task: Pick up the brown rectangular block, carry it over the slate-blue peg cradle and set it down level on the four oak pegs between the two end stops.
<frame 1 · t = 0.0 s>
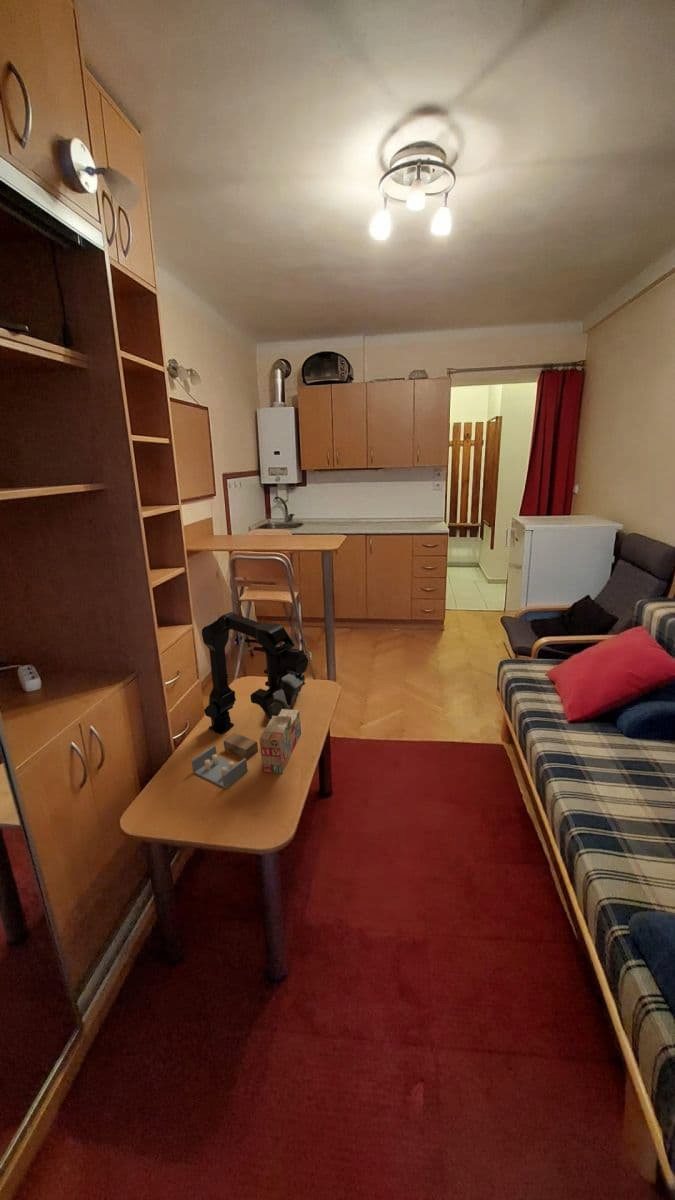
hand: (280, 711, 145), 15 cm above the table, fingers open, 9 cm apart
bluetooth speaker: (284, 705, 177), on the table
brown rectangular block: (241, 751, 151), on the table
stack of blocks: (283, 752, 149), on the table
cradle: (220, 772, 141), on the table
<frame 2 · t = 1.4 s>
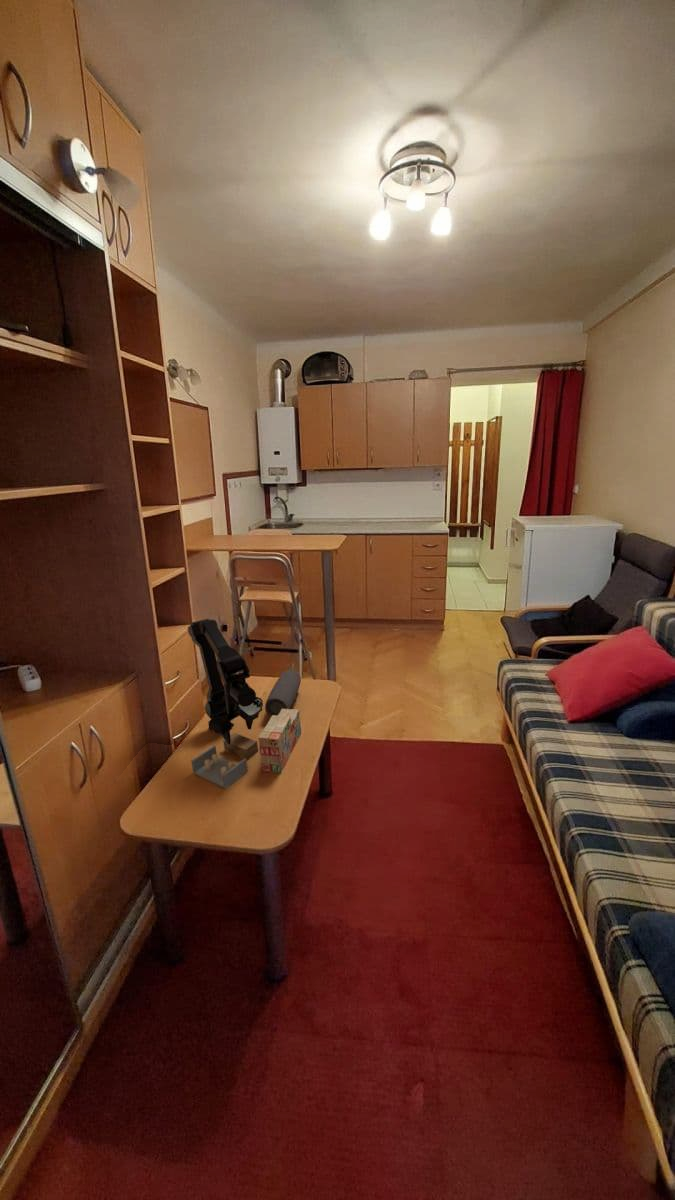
hand: (239, 736, 149), 5 cm above the table, fingers open, 9 cm apart
nothing on the table moved.
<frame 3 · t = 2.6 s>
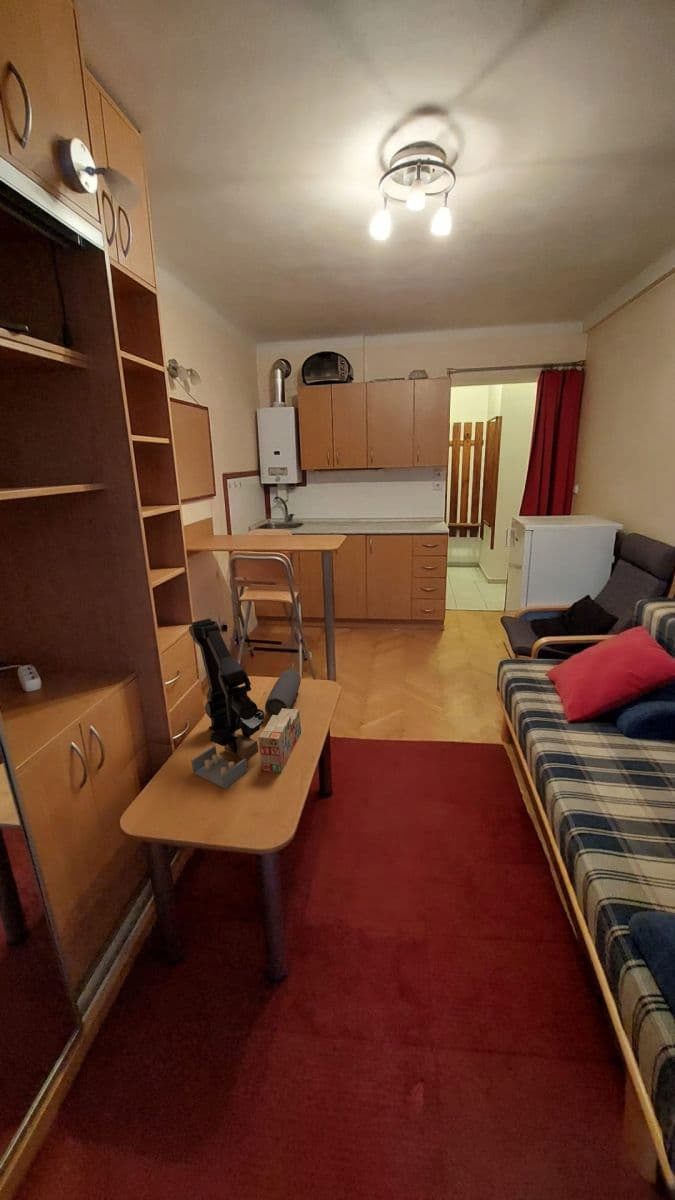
hand: (241, 748, 150), 1 cm above the table, fingers closed on brown rectangular block, 5 cm apart
brown rectangular block: (241, 751, 151), on the table, touching gripper
everything else where it was.
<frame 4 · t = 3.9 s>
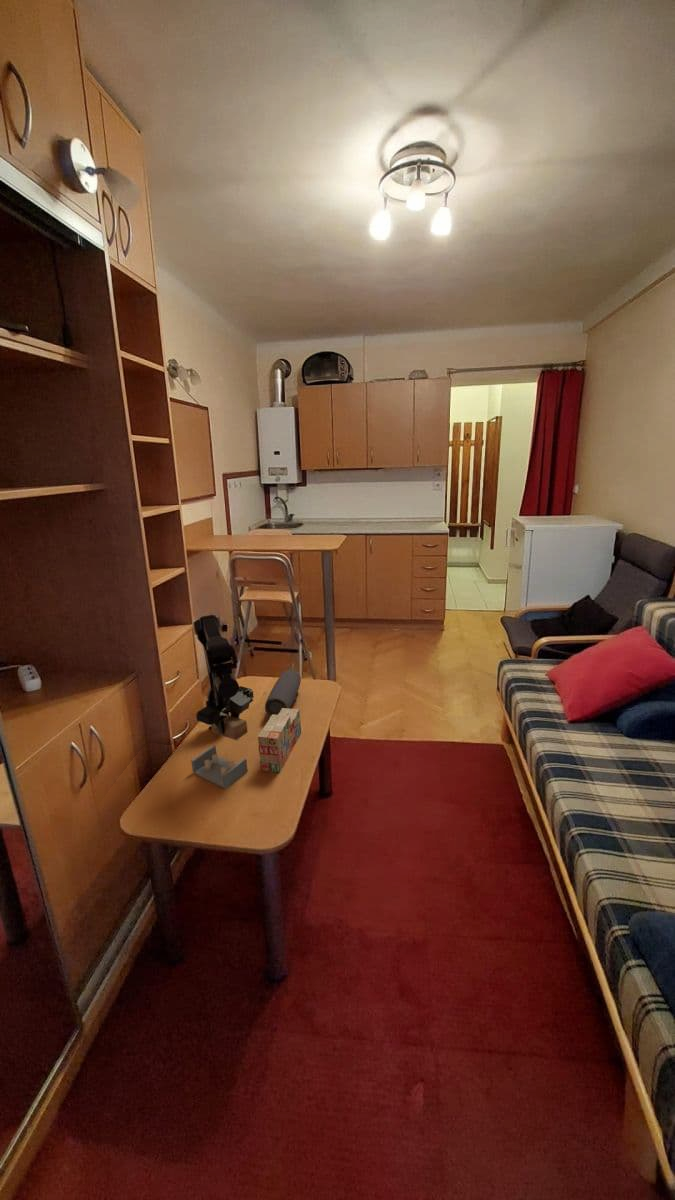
hand: (229, 729, 143), 11 cm above the table, fingers closed on brown rectangular block, 5 cm apart
brown rectangular block: (229, 731, 143), point 10 cm above the table, touching gripper
everything else where it was.
when the fingers open (6 cm above the table, at t = 5.6 s): brown rectangular block stays where it is, resting on cradle.
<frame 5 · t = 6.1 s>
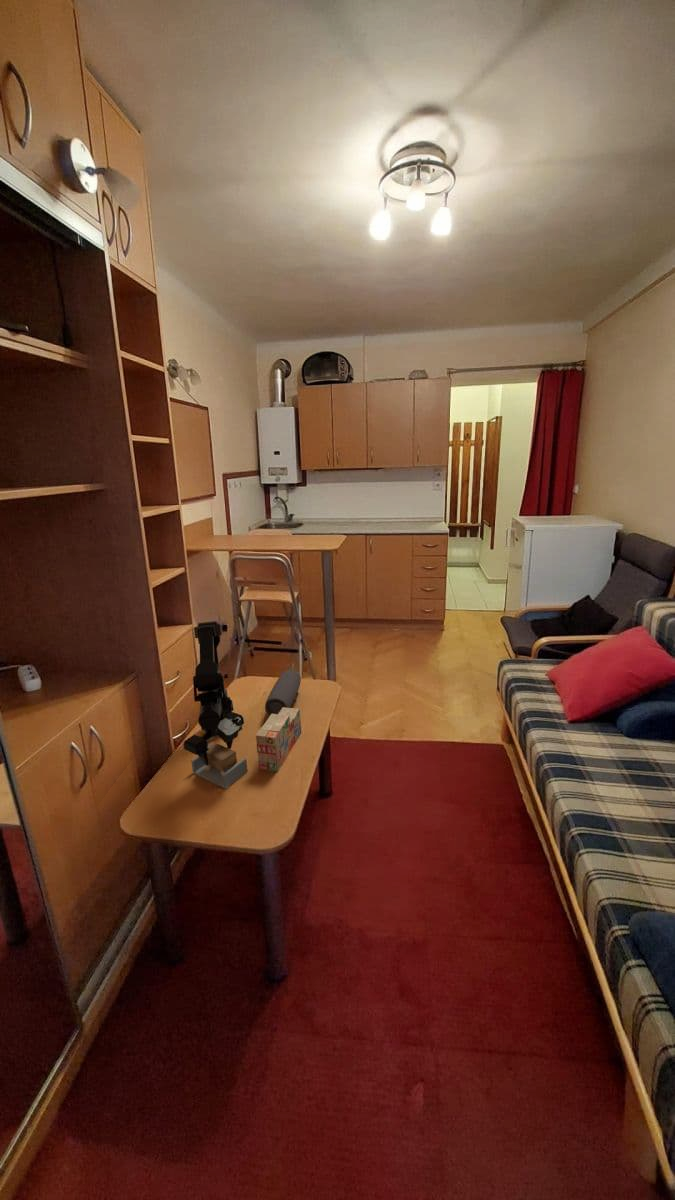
hand: (218, 756, 139), 6 cm above the table, fingers open, 9 cm apart
brown rectangular block: (219, 762, 140), point 4 cm above the table, touching cradle
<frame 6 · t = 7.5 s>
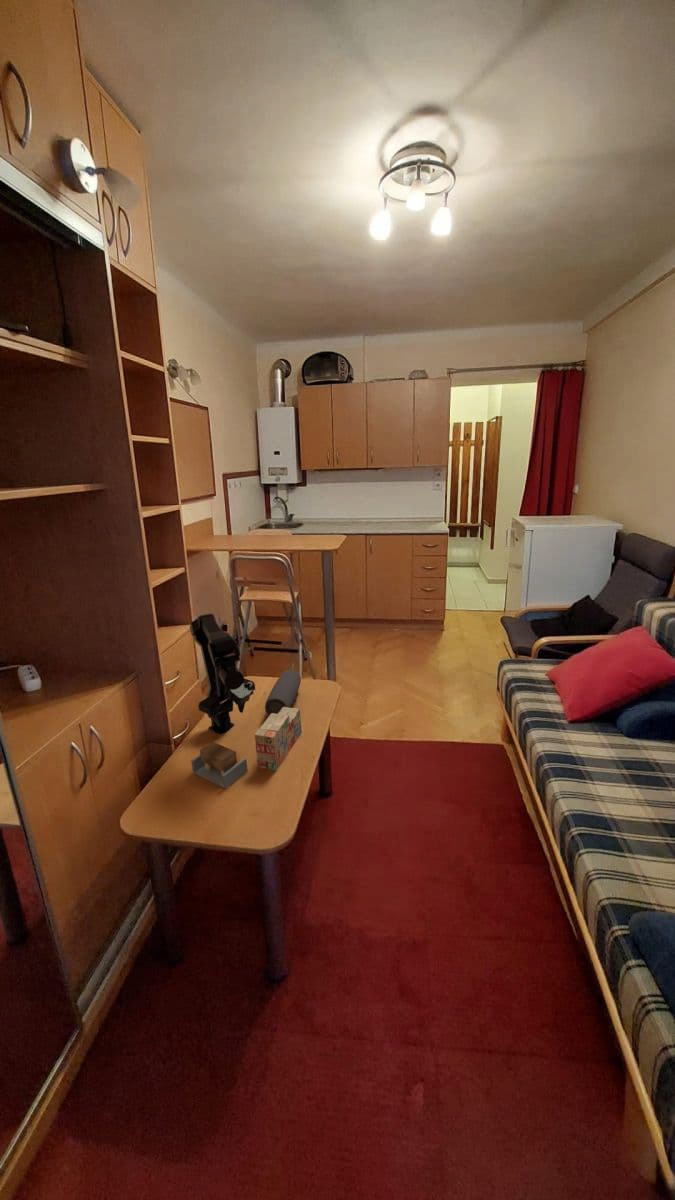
hand: (230, 719, 147), 12 cm above the table, fingers open, 9 cm apart
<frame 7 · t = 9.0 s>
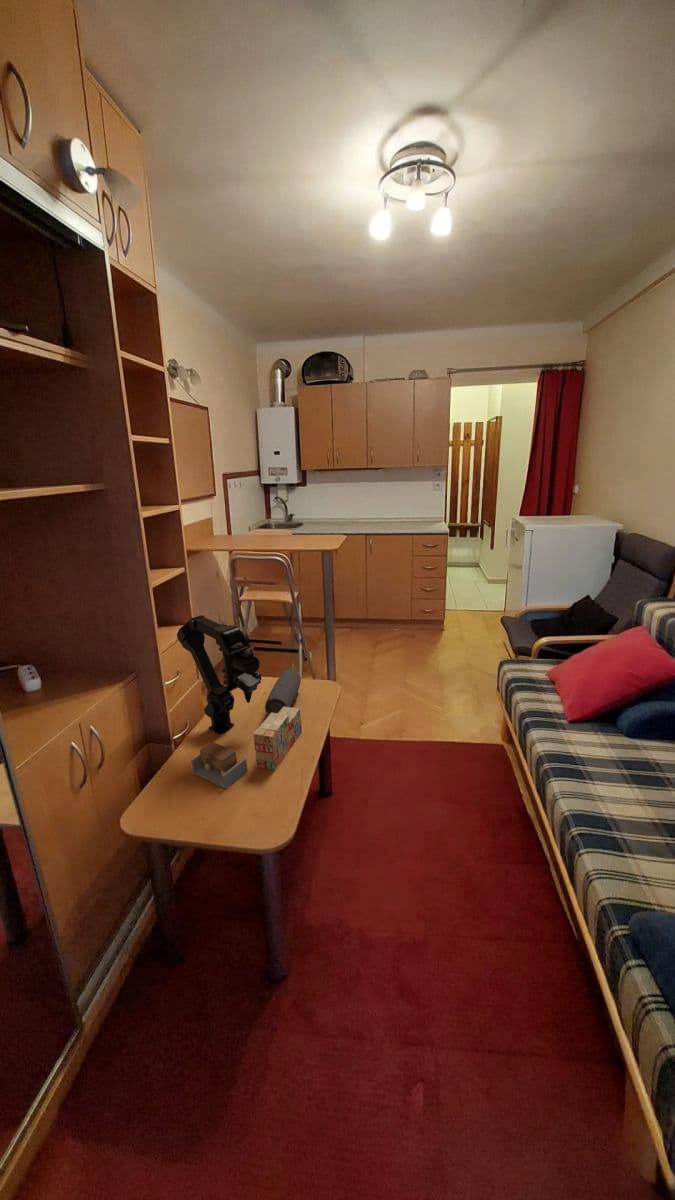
hand: (238, 708, 153), 12 cm above the table, fingers open, 9 cm apart
at the end: brown rectangular block 0.0 cm off-centre on the cradle, point 3.6 cm above the cradle's base; brown rectangular block tilted 0°; the gripper is holding nothing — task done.
